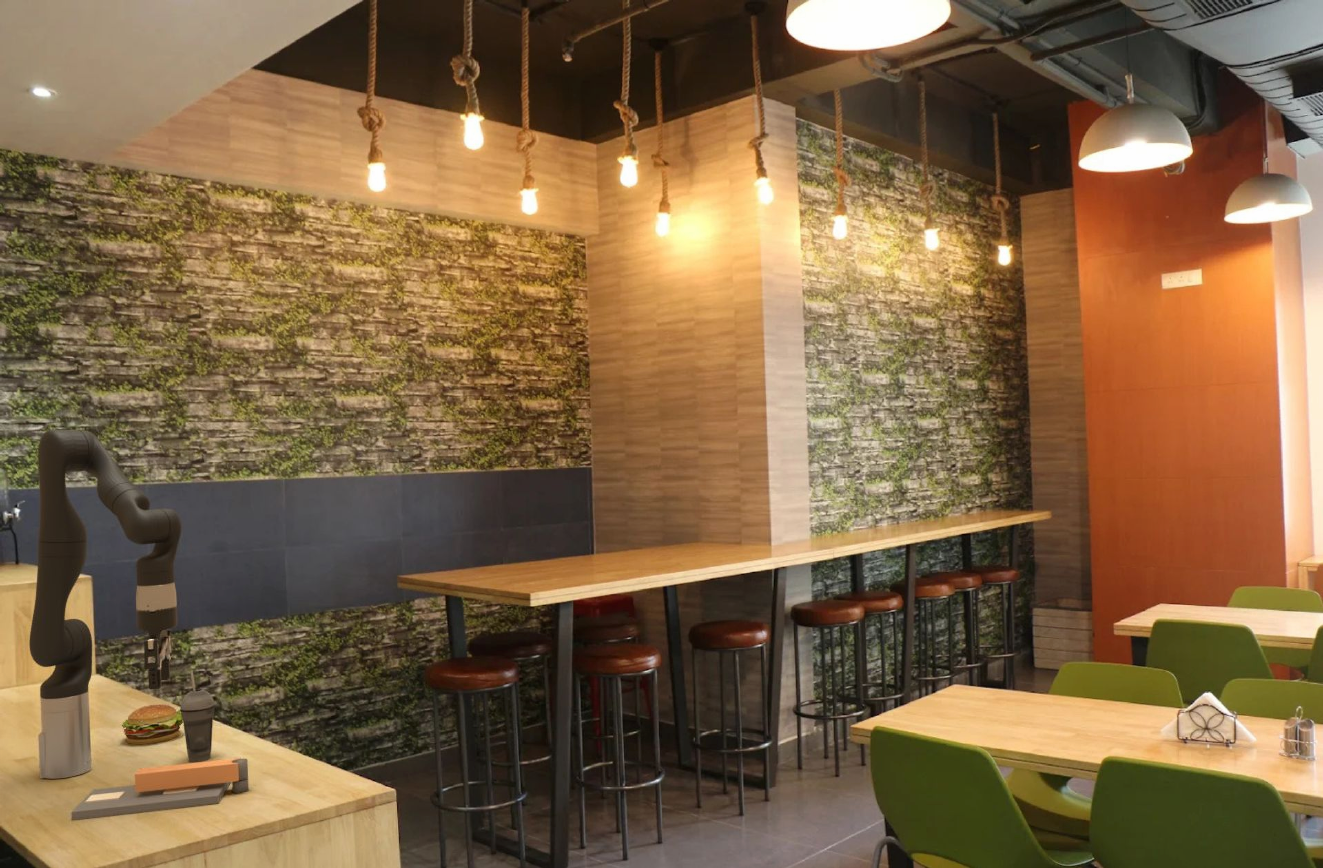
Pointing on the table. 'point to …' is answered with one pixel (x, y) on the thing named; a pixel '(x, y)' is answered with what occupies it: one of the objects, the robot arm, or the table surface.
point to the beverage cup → (198, 723)
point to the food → (152, 724)
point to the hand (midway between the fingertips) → (159, 684)
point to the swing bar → (191, 774)
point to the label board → (151, 799)
